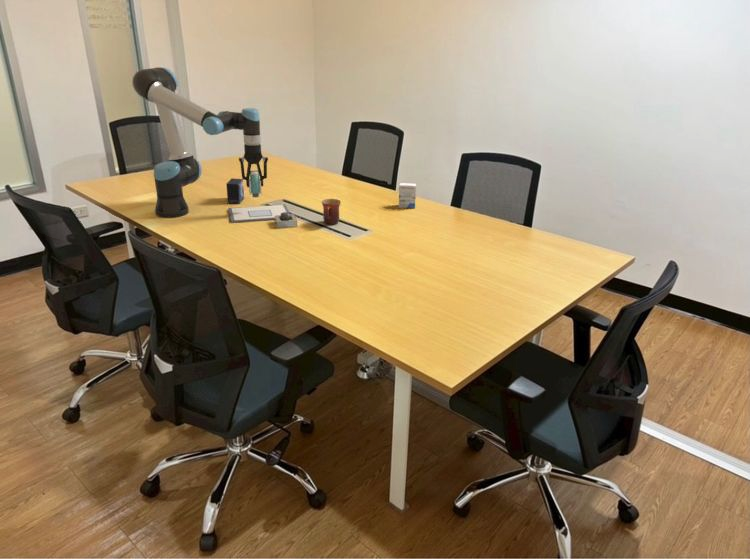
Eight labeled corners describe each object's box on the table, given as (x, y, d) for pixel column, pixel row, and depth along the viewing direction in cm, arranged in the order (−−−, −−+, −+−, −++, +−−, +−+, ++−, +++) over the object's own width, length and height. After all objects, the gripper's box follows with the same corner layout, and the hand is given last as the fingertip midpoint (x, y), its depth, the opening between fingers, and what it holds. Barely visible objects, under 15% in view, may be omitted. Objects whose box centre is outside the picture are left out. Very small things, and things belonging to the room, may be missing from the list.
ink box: (415, 205, 292) (416, 183, 287) (414, 208, 287) (416, 186, 282) (398, 204, 293) (399, 182, 288) (398, 207, 288) (399, 185, 283)
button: (281, 222, 258) (281, 215, 256) (280, 219, 261) (280, 212, 260) (291, 221, 259) (291, 215, 257) (289, 218, 263) (289, 212, 261)
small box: (240, 204, 286) (238, 184, 282) (227, 203, 286) (225, 183, 282) (245, 198, 296) (243, 178, 291) (232, 197, 296) (230, 178, 291)
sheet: (231, 223, 260) (231, 220, 260) (228, 209, 277) (228, 207, 277) (292, 218, 268) (292, 216, 268) (285, 206, 285) (285, 203, 285)
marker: (252, 197, 267) (250, 172, 262) (250, 195, 271) (249, 170, 265) (260, 197, 268) (259, 172, 263) (259, 194, 272) (257, 170, 267)
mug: (324, 218, 269) (324, 198, 265) (342, 220, 268) (342, 199, 263) (317, 227, 258) (317, 205, 254) (336, 229, 257) (336, 207, 253)
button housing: (277, 228, 256) (277, 221, 254) (274, 221, 264) (274, 215, 262) (297, 226, 258) (297, 220, 257) (294, 220, 266) (293, 214, 265)
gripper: (234, 146, 253) (237, 196, 263) (272, 144, 258) (274, 194, 268) (232, 142, 260) (236, 192, 270) (270, 141, 265) (272, 190, 275)
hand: (255, 193), depth 269 cm, fingers closed on marker, 4 cm apart
